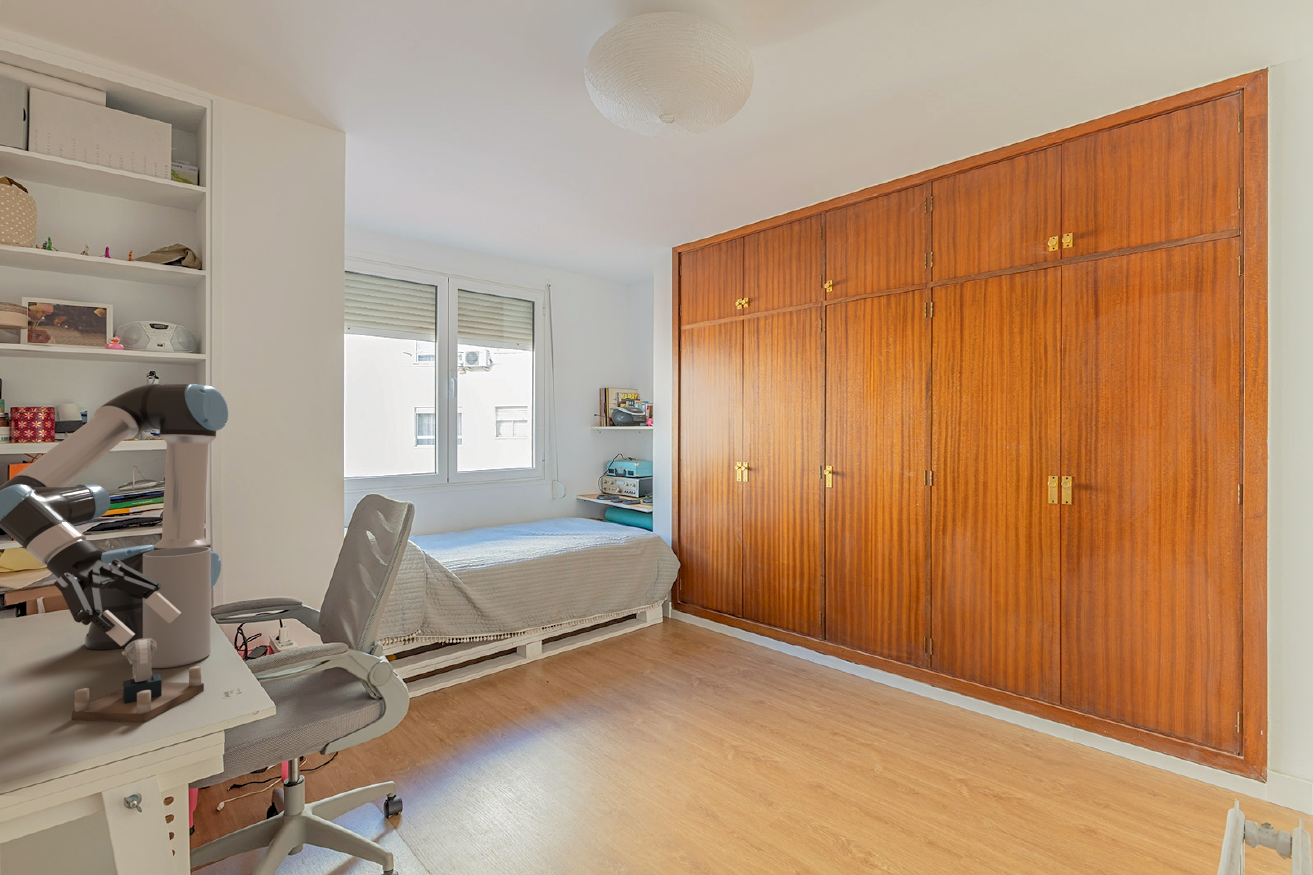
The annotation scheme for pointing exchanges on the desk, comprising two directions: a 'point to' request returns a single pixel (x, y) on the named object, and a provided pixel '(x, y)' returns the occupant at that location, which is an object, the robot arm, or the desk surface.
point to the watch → (141, 670)
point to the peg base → (143, 707)
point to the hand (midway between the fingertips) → (153, 628)
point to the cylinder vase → (180, 605)
